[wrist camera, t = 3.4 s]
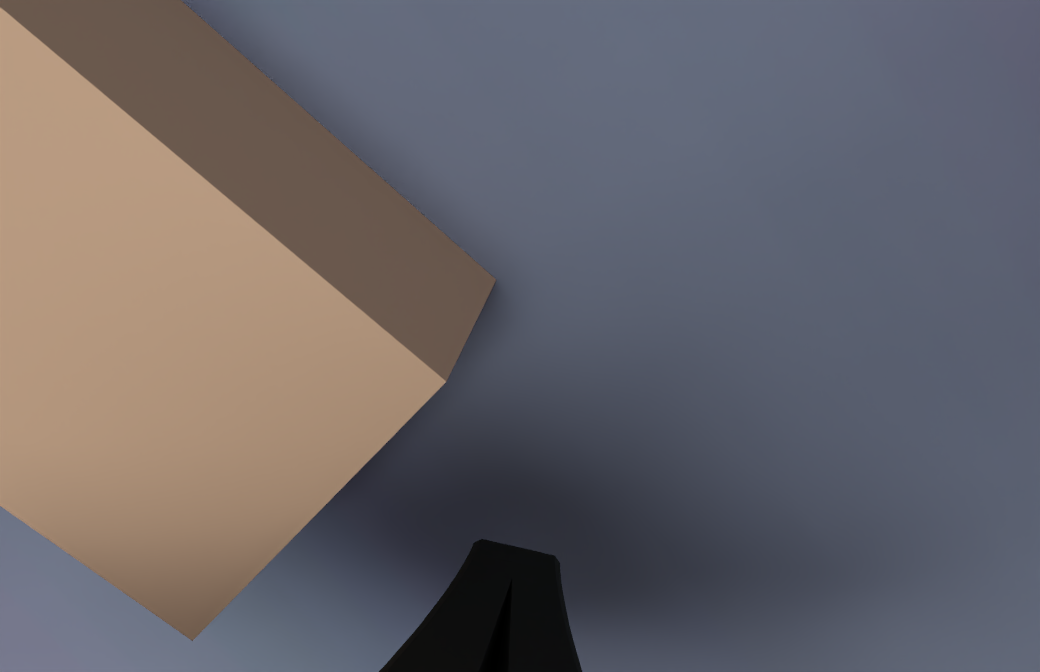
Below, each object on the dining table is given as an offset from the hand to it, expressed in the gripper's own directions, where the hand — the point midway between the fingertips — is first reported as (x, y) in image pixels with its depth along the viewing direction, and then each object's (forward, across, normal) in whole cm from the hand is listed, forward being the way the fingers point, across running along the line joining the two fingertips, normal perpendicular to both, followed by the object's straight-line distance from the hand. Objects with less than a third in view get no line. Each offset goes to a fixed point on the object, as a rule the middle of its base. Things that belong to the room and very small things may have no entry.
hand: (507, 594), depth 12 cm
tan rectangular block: (+2, +6, -4) cm, 7 cm away
